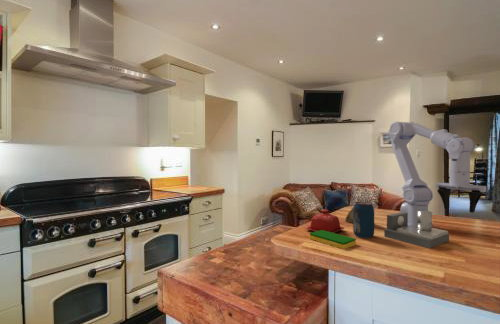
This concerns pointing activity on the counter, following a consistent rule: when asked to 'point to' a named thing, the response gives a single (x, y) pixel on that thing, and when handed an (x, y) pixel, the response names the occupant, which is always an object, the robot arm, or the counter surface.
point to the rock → (351, 215)
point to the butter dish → (325, 222)
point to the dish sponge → (333, 239)
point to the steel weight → (424, 220)
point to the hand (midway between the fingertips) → (459, 210)
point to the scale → (402, 220)
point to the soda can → (363, 219)
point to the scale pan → (422, 232)
